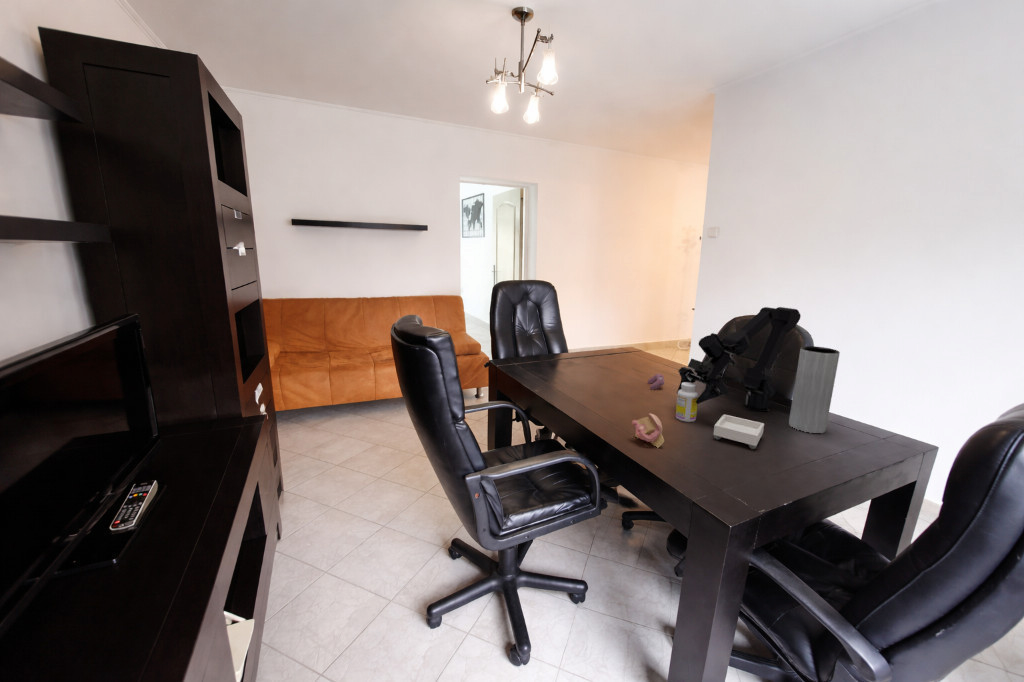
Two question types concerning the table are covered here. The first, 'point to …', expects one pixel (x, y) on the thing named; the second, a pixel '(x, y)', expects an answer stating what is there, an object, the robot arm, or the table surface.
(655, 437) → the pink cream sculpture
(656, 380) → the purple lumpy piece
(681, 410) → the supplement bottle
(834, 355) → the vase
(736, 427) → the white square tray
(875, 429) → the table surface
